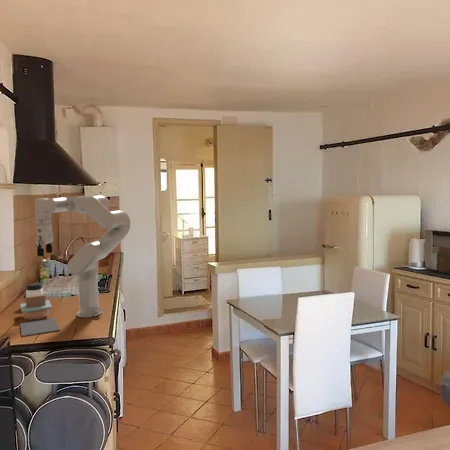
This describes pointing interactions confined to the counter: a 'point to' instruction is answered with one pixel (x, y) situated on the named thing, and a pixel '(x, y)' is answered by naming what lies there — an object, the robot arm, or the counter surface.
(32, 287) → the jar
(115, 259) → the counter surface
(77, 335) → the counter surface
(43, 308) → the cover
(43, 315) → the bowl
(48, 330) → the mat
